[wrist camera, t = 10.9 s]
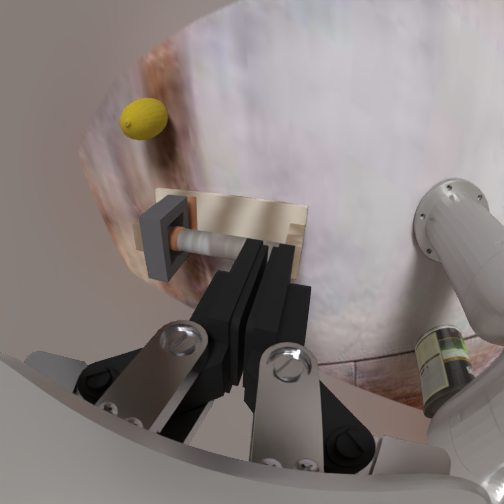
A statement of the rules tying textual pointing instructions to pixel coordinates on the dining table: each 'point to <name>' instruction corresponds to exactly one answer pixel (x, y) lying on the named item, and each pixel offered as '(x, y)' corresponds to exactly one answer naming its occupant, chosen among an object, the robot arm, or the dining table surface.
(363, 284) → the dining table surface
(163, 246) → the grey frame
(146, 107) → the lemon
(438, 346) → the coffee can
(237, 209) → the pipe stand
